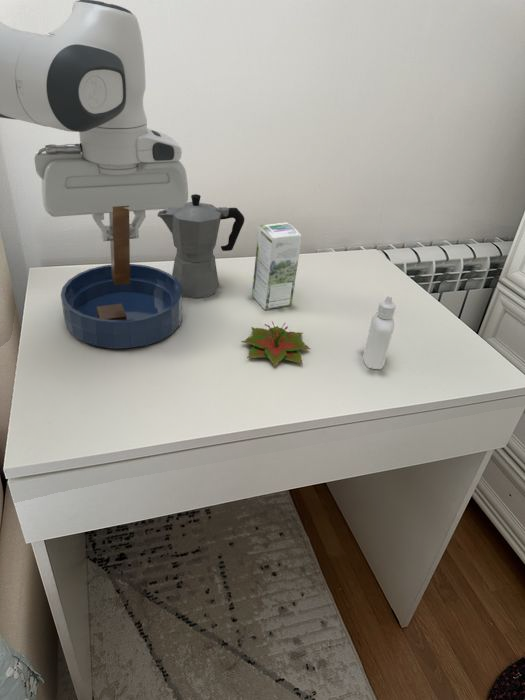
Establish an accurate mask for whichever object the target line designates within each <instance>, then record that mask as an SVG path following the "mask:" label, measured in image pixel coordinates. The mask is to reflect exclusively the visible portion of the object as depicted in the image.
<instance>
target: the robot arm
mask: <svg viewBox="0 0 525 700" xmlns="http://www.w3.org/2000/svg"><path fill="white" fill-rule="evenodd" d="M145 63H146V61H145V53H144V44H143V37H142V31H141V27H140V24H139V21H138V19H137V16H136V15H135V14H134V13H132V11H130V10H129V9H127V8H126V7H123V6H121V5H117V4H113V3H107V2H104V1H100V0H75V1H74V2H73V4H72V8H71V13H70V15H69V16H68V18H67V19H66V20H65V21H64V22H63V23H62V24H61V25H60V26H58V27H57V28H55V29H54V30H51V31H49V32H48V34H41V33H38V32H37V33H36V32H31V31H25V30H21V29H17V28H14V27H12V26H9V25H6V24H4V23H3V22H1V21H0V118H1V119H8V120H18V121H21V122H22V121H23V122H25V123H30V124H34V125H38V126H42V127H46V128H47V127H48V128H52V129H56V130H61V131H64V132H65V131H66V132H71V133H79V142H80V143H66V144H54V143H53V144H52V143H51V144H46V145H45V144H44V147H42V148H40V149H39V150H37V152H36V153H35V155H34V166H35V171H36V174H37V175H38V177H39V178H40V179H41V197H42V203H43V204H42V205H43V209H44V211H45V212H46V213H47V214H48V215H50V216H51V217H53V218H56V217H57V218H59V217H68V216H69V217H71V216H72V217H73V216H85V215H91V217H92V219H93V221H94V222H95V224H96V225H97V226H98V228H99V229H100V236H101V239H102V241H103V242H110V241H112V240H113V230H112V228H111V226H110V225H105V224H104V223H103V221H104V220H105V214H109V213H112V212H113V207H116V206H129V207H125V208H126V209H129V213H130V212H132V213H133V214H134V217H133V219H132V221H131V223H129V230H130V240H135V239H139V238H140V234H139V232H140V231H139V228H141V226H142V224H143V223H144V221H145V218H146V211H156V210H165V209H171V208H182V207H184V205H185V204H186V203H187V202H189V185H188V178H187V177H188V176H187V171H186V168H185V166H184V164H183V163H182V162H181V161H180V160H181V158H182V153H183V152H182V151H183V150H182V147H181V145H180V143H178V142H177V141H176V140H175V139H174V138H172V137H171V136H170V135H168V134H166V133H164V132H161V131H158V130H154V129H152V128H149V127H148V120H147V115H146V112H145V108H144V97H145V96H144V95H145V93H146V86H147V85H146V84H147V83H146V64H145Z"/></svg>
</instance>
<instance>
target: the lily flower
mask: <svg viewBox="0 0 525 700" xmlns="http://www.w3.org/2000/svg"><path fill="white" fill-rule="evenodd" d="M271 323H272V324H271V325H273V327H271V326H270V325H269V324H266V323H264V326H266V327H268V328H269V329H266V328H261V327H252V326H251V334H252V335H250V336H248V337H247V338H245V340H242V341H240V343H244V344H248V345H252V347H251V348H250V349H249V351H248V355H247V357H246V359H253V358H256V359H257V358H268V359H269V361H270V363H272V364H273V367H274V368H276V366H277V365H278V364H279V363H280V362H281V361H282V360H286V361H289V362H294V363H298V364H301V365H304V363H303V359H302V354H301V353H300V351H299V350H311V348H310V346H308V345H307V344H305V342H304V341H303V340H301V339H302V337H303V334H304V332H298V331H297V332H295V331H287V329H288V328H289V326H285V325H286V322H284V323H283V325H282V326H281V327H279V323H278V325H276V326H275V324H274V322H273V321H272V320H271ZM284 326H285V327H284Z"/></svg>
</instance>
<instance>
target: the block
mask: <svg viewBox="0 0 525 700" xmlns="http://www.w3.org/2000/svg"><path fill="white" fill-rule="evenodd" d="M96 310H97V318H99V319H108V320H127V317H126V314H125V311H124V309H123V306H122V304H113V305H106V306H98V307H96Z"/></svg>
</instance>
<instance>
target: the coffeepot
mask: <svg viewBox="0 0 525 700" xmlns="http://www.w3.org/2000/svg"><path fill="white" fill-rule="evenodd" d="M201 197H202V196H201V195H200V194H197V193H196V194H195V193H194V194H191V196H190V198H191V201H187V203H186V204H185V205H184V207H182V208H171V209H162V210H160V211H158V213H157V217H159V218H160V219H161V220H162V221H163V222H164V224H165V225H166V227H167V229H168V230H169V232H170V233H171V236H172V241H173V246H174V247H175V249H176V255H175V257H174V261H173V266H172V274H171V275H172V276H173V277H174V278H176V279H177V281H178V282H179V284H180V285H181V288H182V297H184V298H188V299H189V298H190V299H201V298H207V297H210V296H212V295H214V294H215V293H216V292H217V291H218V287H219V285H220V283H219V277H218V270H217V263H216V257H215V255H214V249H215V248H216V245H217V240H218V234H219V230H220V225H221V221H222V220H229V219H234V221H233V224H232V227H231V232H230V234H229V235H228V241H227V244H226V245H221V246H220V248H221V251H223V252H228V251H232V250H234V247H235V244H236V242H237V239H238V237H239V235H240V233H241V230H242V228H243V226H244V223H245V217H244V215H243V213H242V212H241V210H239V209H238V208H237V207H226V206H224V207H216V206H215V205H213V204H210V203H205V202H204V203H203V202H201Z"/></svg>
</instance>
